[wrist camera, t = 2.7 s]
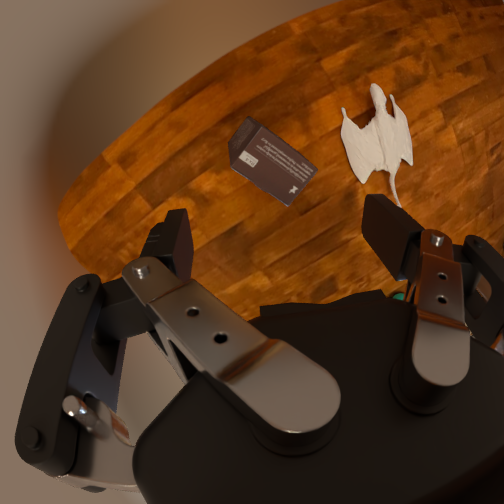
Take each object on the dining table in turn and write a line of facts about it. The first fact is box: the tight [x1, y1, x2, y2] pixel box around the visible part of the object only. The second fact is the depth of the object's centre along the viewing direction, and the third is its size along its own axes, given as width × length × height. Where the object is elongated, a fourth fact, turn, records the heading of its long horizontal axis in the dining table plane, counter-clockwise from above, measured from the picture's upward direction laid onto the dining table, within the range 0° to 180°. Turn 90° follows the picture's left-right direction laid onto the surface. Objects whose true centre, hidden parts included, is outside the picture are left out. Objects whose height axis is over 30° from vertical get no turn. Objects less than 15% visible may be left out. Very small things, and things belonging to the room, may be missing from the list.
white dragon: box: [341, 83, 413, 207], centre depth 31 cm, size 18×10×4 cm, turn 22°
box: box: [228, 116, 318, 206], centre depth 26 cm, size 6×4×12 cm
